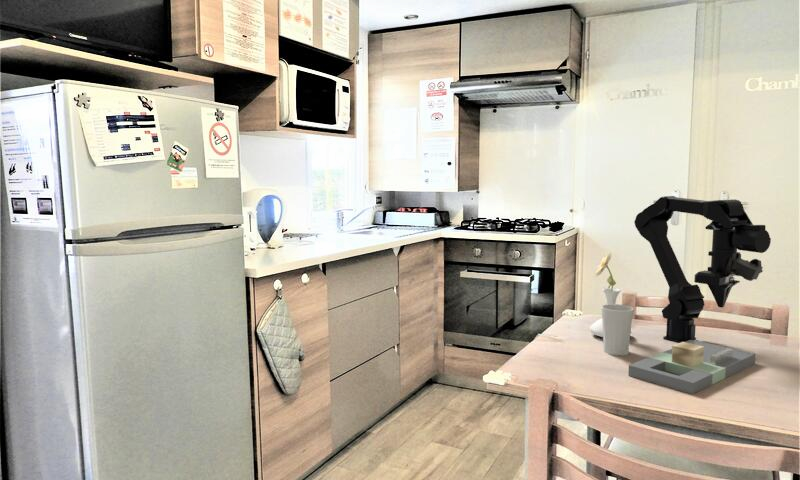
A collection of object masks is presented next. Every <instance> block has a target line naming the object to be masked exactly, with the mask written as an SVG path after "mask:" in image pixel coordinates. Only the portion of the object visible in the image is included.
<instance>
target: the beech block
mask: <svg viewBox="0 0 800 480" xmlns="http://www.w3.org/2000/svg"><path fill="white" fill-rule="evenodd" d="M672 346H673V348H672V347H671V349H672V362H674V363H678V364H682V365H686V366H690V367H695V366H697V365H700V364H702V363H703V357H704V346H700V345H695V344H691V343H687V342H677V343H676V344H673V345H672Z"/></svg>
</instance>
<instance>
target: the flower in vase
mask: <svg viewBox="0 0 800 480" xmlns="http://www.w3.org/2000/svg"><path fill="white" fill-rule="evenodd" d="M611 258H612V252H611V251H610V252H606V254H605V256H603V257H602V260H601V263H600V264H598V265H597V267H596V268H597V270H595V272H594V275H595V276H594V277H598V276H600V275H601V274H602V273H603V272H604V271H605V269H607V271H608V272H609V276H608V278H607V279H606V282H607V283H608V284H609V285H608V287H604V288H602V291H603V293H604V295H605V298H606V305H607V304H616V302H617V298H618V296H619V293H621V292H622V289H620V288H614V286H616V284H617V282H616V281H615V279H614V278H613V274H612V272H611V270H610V268H609V266H608V264H609V262H610V260H611ZM589 331H590V333H591V334H593V335H595V336H598V337H601V338H603V324H602V317H601V318H600V319H598V320H596V321H595V322H593V324H591V326H590V327H589ZM631 334H632V331H631V332H630V335H631Z"/></svg>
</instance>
